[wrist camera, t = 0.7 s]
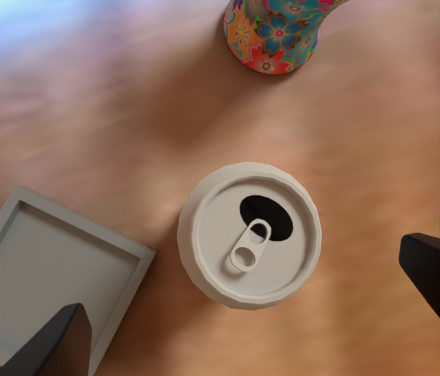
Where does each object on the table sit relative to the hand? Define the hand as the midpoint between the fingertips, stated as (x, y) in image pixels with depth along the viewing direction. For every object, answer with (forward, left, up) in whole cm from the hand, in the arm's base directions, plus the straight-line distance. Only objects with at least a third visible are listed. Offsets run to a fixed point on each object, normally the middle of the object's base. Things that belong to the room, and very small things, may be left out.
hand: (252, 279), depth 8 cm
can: (+1, -1, -18) cm, 18 cm away
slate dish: (-9, +9, -17) cm, 21 cm away
